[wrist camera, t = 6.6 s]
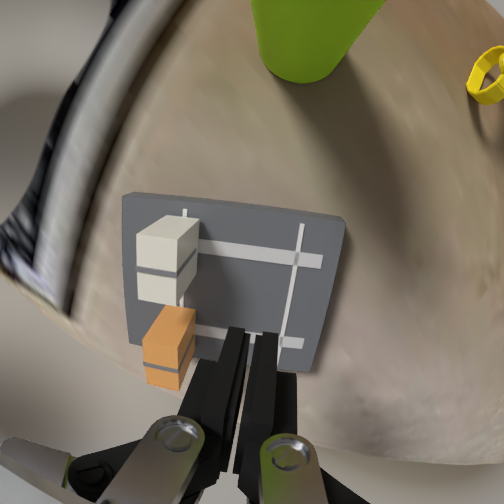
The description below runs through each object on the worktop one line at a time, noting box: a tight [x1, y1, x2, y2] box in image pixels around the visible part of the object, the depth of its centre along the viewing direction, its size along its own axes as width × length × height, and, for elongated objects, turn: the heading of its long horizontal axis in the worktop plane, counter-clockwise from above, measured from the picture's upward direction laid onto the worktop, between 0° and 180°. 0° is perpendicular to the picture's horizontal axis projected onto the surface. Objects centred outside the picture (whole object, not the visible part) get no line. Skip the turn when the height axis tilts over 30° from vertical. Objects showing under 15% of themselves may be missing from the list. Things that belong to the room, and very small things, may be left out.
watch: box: [466, 46, 504, 105], centre depth 14 cm, size 6×3×6 cm, turn 150°
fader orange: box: [142, 305, 196, 391], centre depth 21 cm, size 2×4×5 cm, turn 173°
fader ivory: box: [135, 215, 200, 306], centre depth 18 cm, size 2×4×5 cm, turn 173°
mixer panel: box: [122, 192, 346, 372], centre depth 23 cm, size 16×13×2 cm
